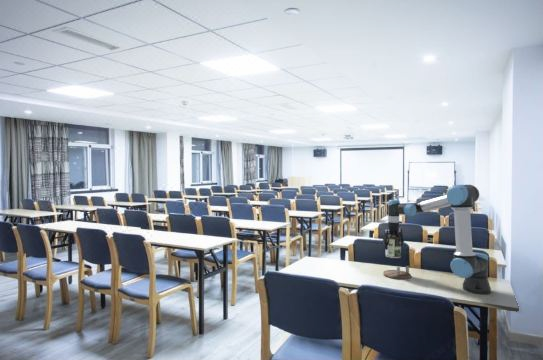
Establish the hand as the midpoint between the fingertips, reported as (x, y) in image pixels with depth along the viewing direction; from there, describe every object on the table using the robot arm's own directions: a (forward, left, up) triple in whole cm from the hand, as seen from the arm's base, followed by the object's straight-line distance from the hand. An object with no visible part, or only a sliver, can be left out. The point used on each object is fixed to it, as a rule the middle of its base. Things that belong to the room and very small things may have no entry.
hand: (393, 253), depth 256 cm
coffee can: (0, 0, -2) cm, 2 cm away
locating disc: (-4, 0, -15) cm, 15 cm away
